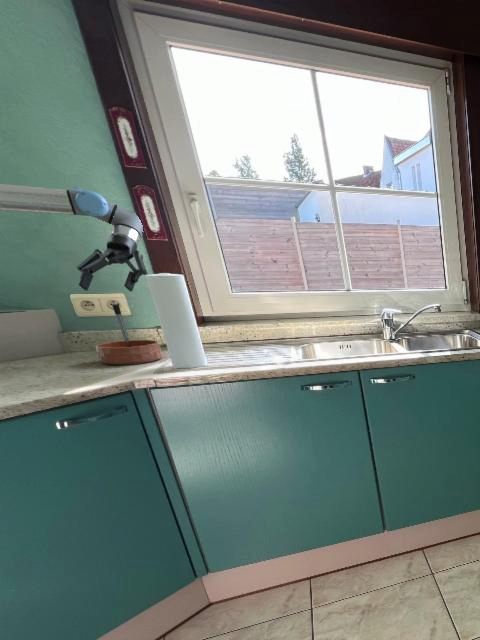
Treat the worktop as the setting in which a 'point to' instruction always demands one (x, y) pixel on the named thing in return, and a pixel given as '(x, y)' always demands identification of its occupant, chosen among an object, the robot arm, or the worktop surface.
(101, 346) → the bowl
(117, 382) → the worktop surface
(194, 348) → the cylinder container
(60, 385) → the worktop surface
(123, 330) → the potato masher
